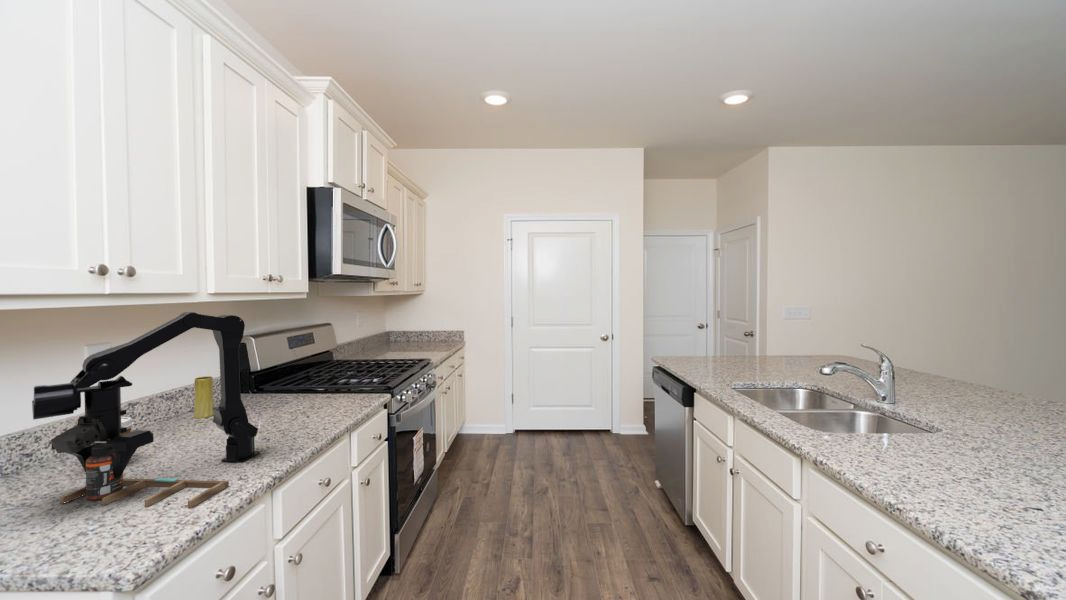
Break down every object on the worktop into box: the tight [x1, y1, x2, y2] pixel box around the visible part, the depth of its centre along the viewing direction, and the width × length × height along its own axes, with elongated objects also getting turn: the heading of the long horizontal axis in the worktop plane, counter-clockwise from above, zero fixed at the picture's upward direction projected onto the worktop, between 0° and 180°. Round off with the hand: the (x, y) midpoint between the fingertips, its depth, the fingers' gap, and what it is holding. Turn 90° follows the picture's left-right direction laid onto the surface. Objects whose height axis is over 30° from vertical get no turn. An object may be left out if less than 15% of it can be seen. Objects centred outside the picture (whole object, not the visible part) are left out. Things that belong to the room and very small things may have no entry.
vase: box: [193, 375, 215, 419], centre depth 155 cm, size 6×6×14 cm
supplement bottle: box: [85, 444, 124, 501], centre depth 95 cm, size 6×6×11 cm
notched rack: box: [59, 477, 230, 509], centre depth 95 cm, size 10×30×2 cm, turn 86°
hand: (104, 477), depth 95 cm, fingers closed on supplement bottle, 6 cm apart
